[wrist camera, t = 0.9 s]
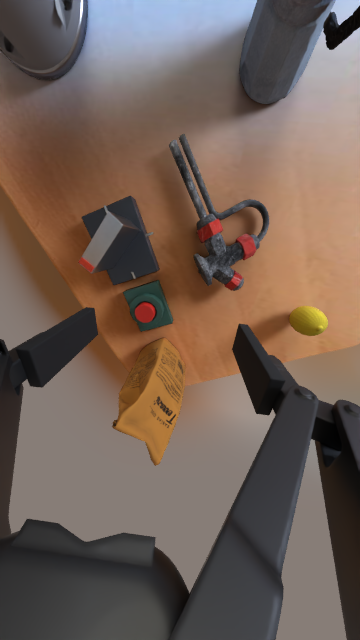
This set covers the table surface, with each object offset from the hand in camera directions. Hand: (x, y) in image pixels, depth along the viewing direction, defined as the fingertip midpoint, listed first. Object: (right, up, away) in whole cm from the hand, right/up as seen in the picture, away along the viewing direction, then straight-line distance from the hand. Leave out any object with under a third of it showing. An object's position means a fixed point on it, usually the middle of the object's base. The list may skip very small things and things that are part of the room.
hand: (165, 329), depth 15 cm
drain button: (-6, +3, +20) cm, 21 cm away
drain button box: (-6, +4, +24) cm, 25 cm away
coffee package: (-3, -9, +30) cm, 31 cm away
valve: (+9, +20, +16) cm, 27 cm away
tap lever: (-10, +15, +16) cm, 24 cm away
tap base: (-10, +16, +19) cm, 26 cm away
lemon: (+27, +2, +22) cm, 35 cm away
